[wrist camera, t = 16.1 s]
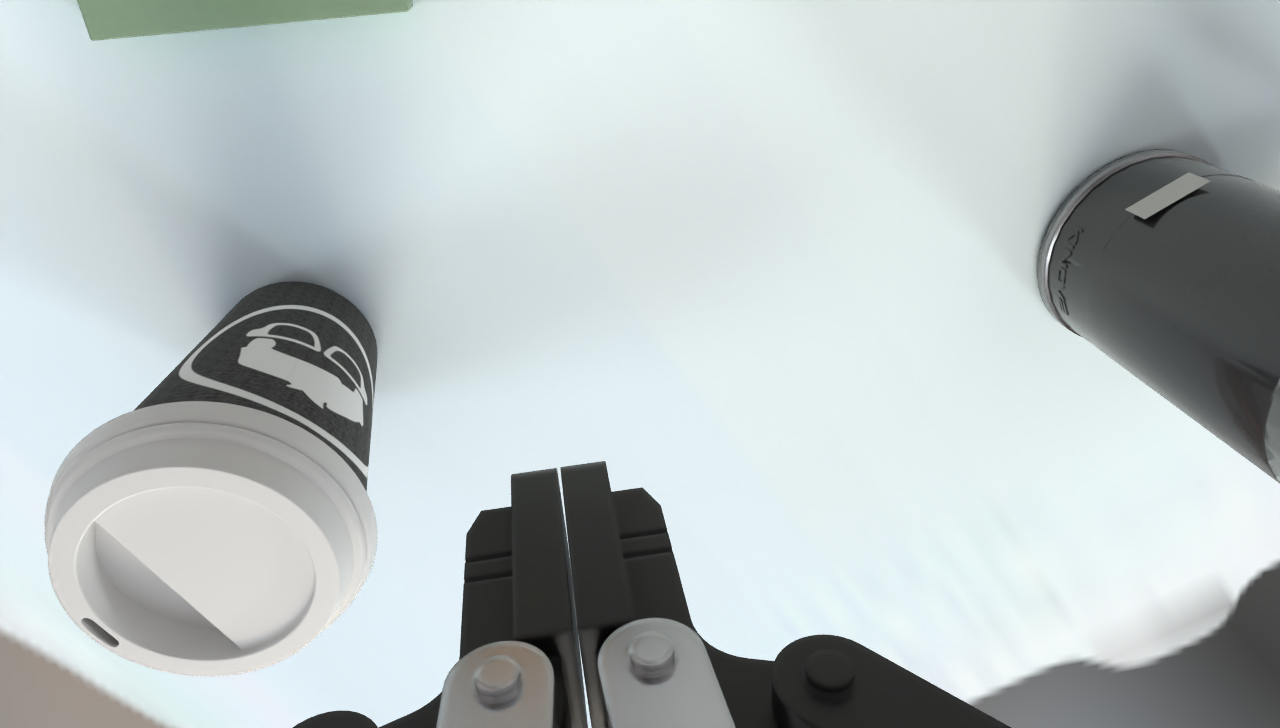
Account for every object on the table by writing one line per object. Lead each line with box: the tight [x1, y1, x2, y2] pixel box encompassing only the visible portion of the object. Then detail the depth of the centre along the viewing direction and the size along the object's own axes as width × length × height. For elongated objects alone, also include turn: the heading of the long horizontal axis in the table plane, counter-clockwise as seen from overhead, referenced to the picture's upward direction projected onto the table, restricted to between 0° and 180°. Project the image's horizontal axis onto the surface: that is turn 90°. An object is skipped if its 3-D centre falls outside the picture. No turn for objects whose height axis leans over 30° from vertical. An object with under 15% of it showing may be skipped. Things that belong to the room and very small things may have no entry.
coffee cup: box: [45, 282, 377, 676], centre depth 32 cm, size 10×10×15 cm
